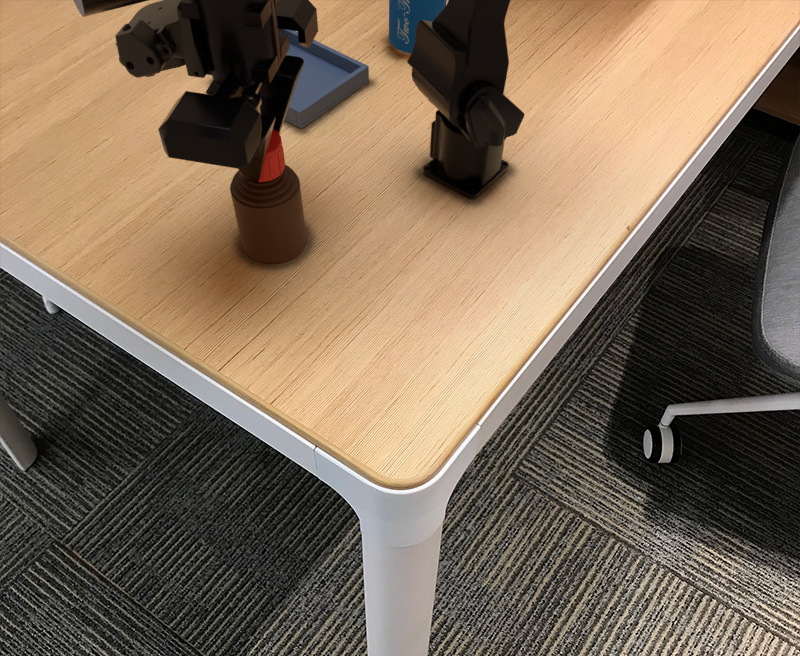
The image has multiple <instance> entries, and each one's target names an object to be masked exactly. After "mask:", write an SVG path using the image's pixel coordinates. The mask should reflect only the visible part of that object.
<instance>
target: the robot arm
mask: <svg viewBox="0 0 800 656" xmlns="http://www.w3.org/2000/svg"><path fill="white" fill-rule="evenodd" d="M72 1H73V3H74V5H75V7H76V8H77V11H78V12H79V14H80V15H81V16H82V18H85V17H89V16H93V15H97V14H100V13H104V12H109V11H113V10H116V9H120V8H125V7H129V6H132V5H133V6H134V5H137V4H140V3H145V2H148V1H149V0H72ZM510 4H511V0H448V1H447V2H446V6H445V7H444V8H443V10H442V11H441V12H440V13H439V14H438V15H437V16H436V17H435V18H434V19H433V20H432V21H427V20H420V21H419V22H418V25H417V27H416V38H415V45H414V48H413V51H412V54H411V55H410V56H408V57H409V58H408V59H407V61H406V63H407V64H408V65H409V67H411V78H412V82H413V83H414V85H415V86H416V88H417V89H418V90H419V92H420V93H421V94H422V95H423V96H424V97H425V98H426V99H427V100H428V102H429V103H431V104H432V105H433V106H434V107H435V108H436V109H437V110H436V112H435V118H434V120H433V121H432V122H431V125H430V126H431V127H430V128H431V129H430V141H429V142H430V143H429V158H430V159H431V160H430V161H429V162H427V163H426V164H425V165H424V166H423V167H422V173H423V174H424V175H425V176H427V177H429V178H430V179H432V180H435V181H436V182H439V183H440V184H442V185H444V186H446V187H448V188H449V189H452V190H454V191H456V192H458V193H460V194H461V195H463V196H465V197H467V198H469V199H476V198H477V197H478V196H479V195H481V194H482V193H483V192H484V191H485V190H486V189H487V188H489V186H491V185H492V184H493V183H494V182H495V181H496V180H497V179H499V178H500V177H501V176H502V175H504V173H505V172H506V171H508V170H509V167H510V163H509V162H508V161H507V160H504V159H503V156H504V155H503V154H504V148H505V141H506V140H507V138H510V137H512V136H515V135H517V133H518V131H519V129H520V127H521V124H522V122H523V120H524V118H525V112H524V111H523V110H521V109H520V108H519V107H518V106H517V105H516V104H515V103H514V102H513V101H512V100H510V98H509V97H508V96H506V94H504V93H505V89H506V83H507V78H508V73H509V65H510V58H509V51H508V42H507V33H506V25H505V22H506V18H507V14H508V10H509V6H510ZM282 29H285V30H292V31H297V32H298V40H299V43H300V44H301V45H302V47H310V45H311V44H312V42H313V40H315V37H316V36H317V34H318V32H319V22H318V10H317V7H316V6H315V5H314V4H313V3H312V2H311V0H159V1H154V2H152V3H149V4H147V5H145V6H143V7H141V8H140V9H139V10H137V12H135V14H134V16H132V18H131V19H130V21H129V22H128V23H125V24H124V25H123V26H122V27H121V28H120V30H119V31H118V32H117V33H116V34H115V35H114V37H115V42H116V43H115V46H116V48H117V53H118V61H119V63H120V64H121V65H122V67H124V68H125V70H126V71H127V73H128V74H129V75H131V76H133V77H135V78H137V79H139V78H144V77H145V78H150V77H154V76H156V75H158V74H160V73H161V72H164V71H168V70H173V69H177V68H181V67H184V66H185V68H186V72H187V76H188V77H194V78H200V79H201V78H202V79H204V78H205V77H206V76H211V78H212V81H211V83H210V84H209V85H208V87H207V89H206V91H205V93H201V92H195V91H189V90H186V91H184V92H183V93H182V94H181V95H180V96H179V97H178V98H177V100H176V102H174V104H173V105H172V107H171V108H170V110H169V112H168V113H167V115H166V117H165V118H164V119H163V121H162V123H161V124H160V126H159V127H158V129H157V130H158V134H159V137H160V141H161V144H162V148H163V151H164V153H165V155H166V156H167V157H168V159H175V160H182V161H188V162H194V163H201V164H207V165H213V166H218V167H219V166H220V167H225V168H232V169H237V171H240V173H241V174H242V176H243V177H244V179H245V180H246V181H249V182H255V183H257V182H258V181H259V179H260V176H261V173H262V169H263V165H264V161H265V157H266V153H267V149H268V145H269V142H270V138H271V134H272V130H273V129H274V130H276V131H277V132H278V133H279V134H280V135H281V131H282V128H283V125H284V122H285V120H284V119H285V116H286V113H287V111H288V108H289V105H290V102H291V99H292V96H293V93H294V90H295V87H296V84H297V81H298V78H299V76H300V73H301V70H302V68H303V65H304V60H303V59H302V58H301V57H297V56H289V55H287V52H288V50H289V48H290V45H289V36H288V35H286V34H280V32H281V31H282Z"/></svg>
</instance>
